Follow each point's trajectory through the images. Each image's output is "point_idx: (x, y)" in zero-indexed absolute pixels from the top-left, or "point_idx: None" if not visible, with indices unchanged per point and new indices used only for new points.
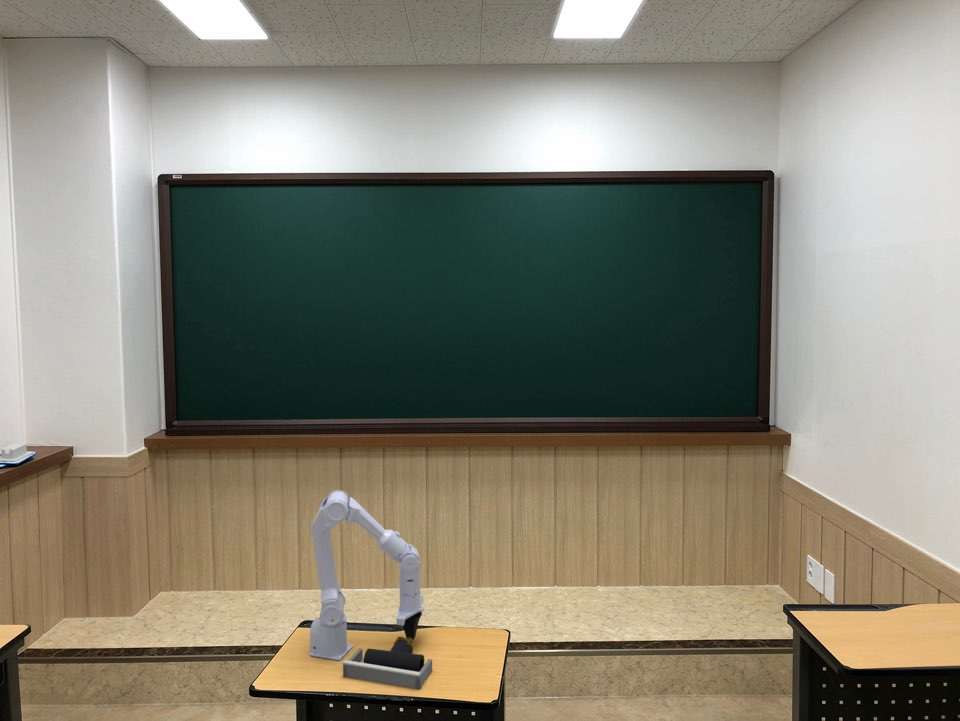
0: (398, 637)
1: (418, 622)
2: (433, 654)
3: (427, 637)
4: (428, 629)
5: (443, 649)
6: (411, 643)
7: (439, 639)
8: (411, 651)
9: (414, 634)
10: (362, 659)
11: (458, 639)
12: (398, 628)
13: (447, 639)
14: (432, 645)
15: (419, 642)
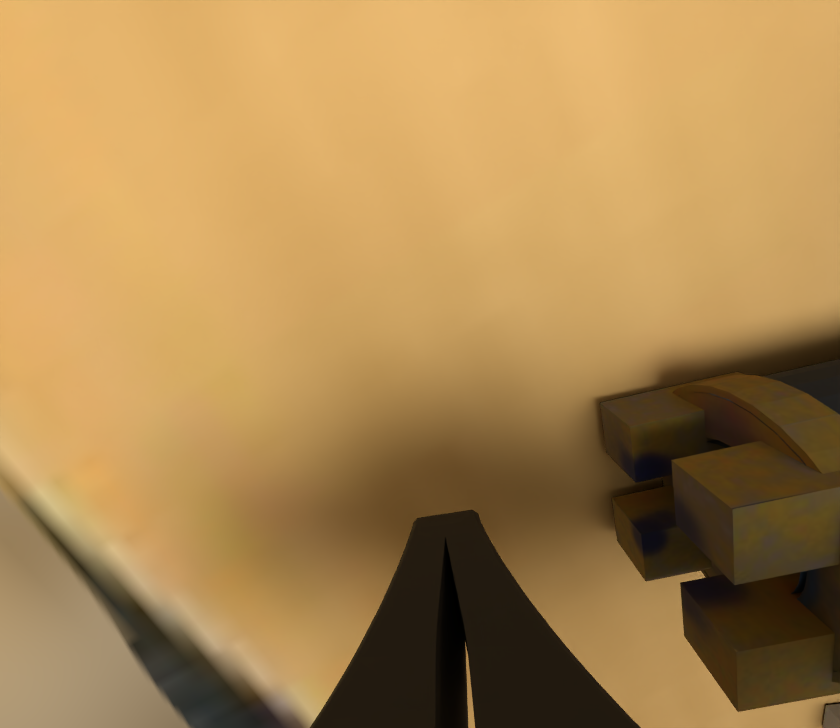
0: (772, 698)
1: (321, 719)
2: (531, 154)
3: (226, 430)
4: (84, 504)
5: (362, 92)
6: (805, 443)
7: (182, 283)
8: (755, 380)
9: (481, 550)
10: (837, 707)
11: (20, 29)
12: (245, 722)
13: (120, 186)
14: (346, 286)
15: (361, 450)
